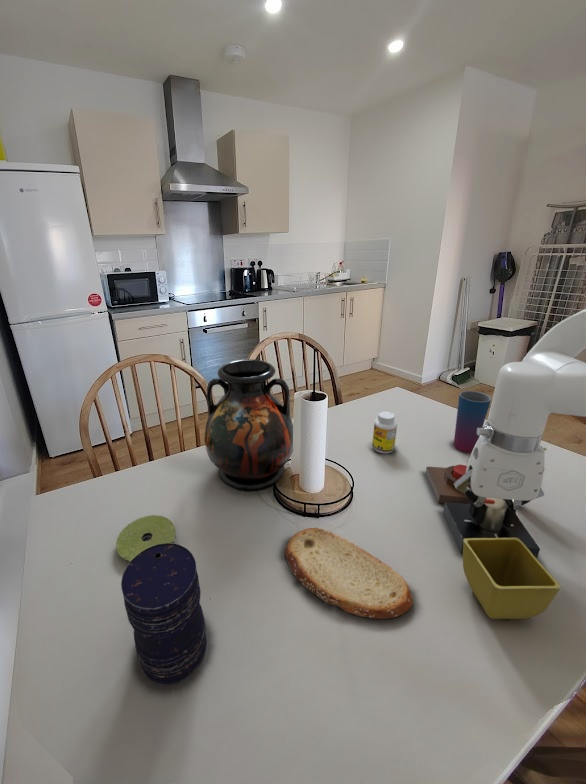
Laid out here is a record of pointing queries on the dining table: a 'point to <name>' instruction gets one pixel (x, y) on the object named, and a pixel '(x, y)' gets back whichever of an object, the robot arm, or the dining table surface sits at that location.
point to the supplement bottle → (384, 432)
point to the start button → (459, 471)
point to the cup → (470, 418)
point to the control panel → (467, 528)
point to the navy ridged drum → (165, 612)
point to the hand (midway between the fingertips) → (489, 519)
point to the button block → (445, 485)
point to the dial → (493, 514)
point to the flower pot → (507, 578)
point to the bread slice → (347, 575)
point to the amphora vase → (249, 426)
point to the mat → (144, 535)
